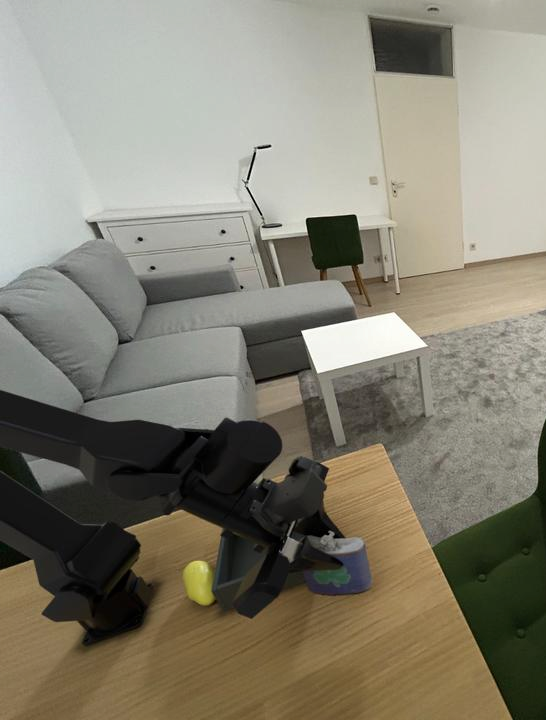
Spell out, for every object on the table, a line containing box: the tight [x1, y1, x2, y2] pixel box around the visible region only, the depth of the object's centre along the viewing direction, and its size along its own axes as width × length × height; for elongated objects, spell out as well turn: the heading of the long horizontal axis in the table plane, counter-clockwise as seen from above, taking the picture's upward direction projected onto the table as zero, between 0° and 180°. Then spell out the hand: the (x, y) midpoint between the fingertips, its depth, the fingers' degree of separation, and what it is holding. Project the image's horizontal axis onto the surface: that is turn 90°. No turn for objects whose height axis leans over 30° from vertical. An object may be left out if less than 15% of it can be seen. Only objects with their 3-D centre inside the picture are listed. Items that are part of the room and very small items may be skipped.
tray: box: [211, 528, 306, 612], centre depth 62 cm, size 13×13×5 cm
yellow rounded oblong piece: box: [182, 560, 217, 607], centre depth 57 cm, size 4×8×4 cm
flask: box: [298, 531, 374, 597], centre depth 53 cm, size 9×3×11 cm, turn 89°
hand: (344, 555), depth 52 cm, fingers closed on flask, 3 cm apart
